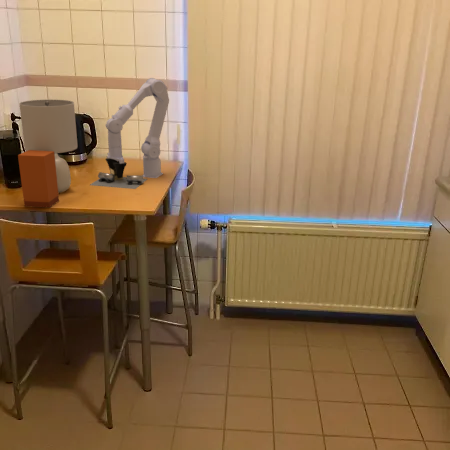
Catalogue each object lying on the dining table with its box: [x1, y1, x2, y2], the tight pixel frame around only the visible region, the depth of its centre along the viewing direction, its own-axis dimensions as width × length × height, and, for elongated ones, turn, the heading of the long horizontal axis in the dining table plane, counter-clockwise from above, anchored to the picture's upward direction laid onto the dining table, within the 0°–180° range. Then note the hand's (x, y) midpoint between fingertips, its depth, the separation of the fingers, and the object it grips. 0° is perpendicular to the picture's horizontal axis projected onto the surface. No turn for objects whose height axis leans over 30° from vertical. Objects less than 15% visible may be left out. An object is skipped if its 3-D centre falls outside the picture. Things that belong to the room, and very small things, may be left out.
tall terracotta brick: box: [17, 150, 60, 209], centre depth 189 cm, size 10×9×20 cm
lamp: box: [19, 99, 78, 194], centre depth 201 cm, size 20×20×37 cm
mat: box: [89, 176, 148, 190], centre depth 220 cm, size 16×21×1 cm
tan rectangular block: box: [109, 168, 124, 180], centre depth 224 cm, size 4×4×5 cm
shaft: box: [97, 171, 115, 183], centre depth 220 cm, size 7×4×4 cm, turn 64°
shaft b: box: [125, 174, 144, 186], centre depth 218 cm, size 7×4×4 cm, turn 94°
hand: (116, 175), depth 224 cm, fingers open, 7 cm apart
